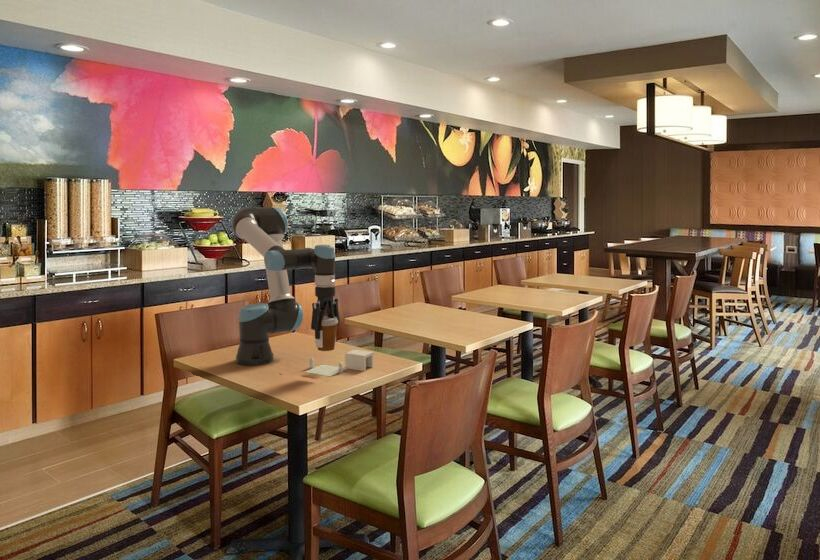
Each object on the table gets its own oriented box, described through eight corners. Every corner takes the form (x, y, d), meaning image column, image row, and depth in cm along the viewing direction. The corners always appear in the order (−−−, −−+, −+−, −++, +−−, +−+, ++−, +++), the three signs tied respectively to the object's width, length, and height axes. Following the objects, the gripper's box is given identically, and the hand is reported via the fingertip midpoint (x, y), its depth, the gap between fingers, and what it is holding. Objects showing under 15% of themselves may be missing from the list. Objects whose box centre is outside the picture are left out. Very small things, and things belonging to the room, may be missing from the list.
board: (300, 375, 240) (300, 361, 240) (329, 363, 257) (329, 351, 256) (347, 382, 231) (347, 369, 230) (373, 370, 248) (373, 357, 247)
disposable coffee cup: (334, 352, 235) (333, 321, 234) (309, 351, 237) (309, 320, 236) (341, 346, 245) (341, 316, 243) (318, 345, 246) (317, 315, 245)
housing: (345, 368, 245) (345, 353, 245) (354, 364, 251) (354, 349, 250) (364, 371, 241) (364, 355, 241) (373, 367, 247) (373, 352, 246)
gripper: (316, 290, 227) (317, 351, 230) (348, 283, 245) (349, 340, 248) (299, 288, 230) (301, 349, 233) (332, 281, 249) (333, 338, 252)
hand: (325, 344), depth 241 cm, fingers closed on disposable coffee cup, 8 cm apart
